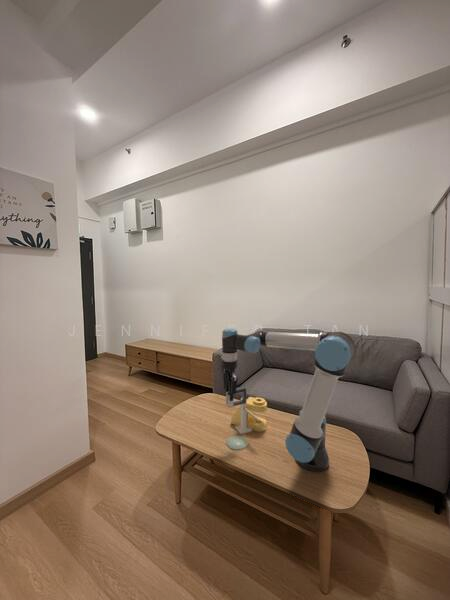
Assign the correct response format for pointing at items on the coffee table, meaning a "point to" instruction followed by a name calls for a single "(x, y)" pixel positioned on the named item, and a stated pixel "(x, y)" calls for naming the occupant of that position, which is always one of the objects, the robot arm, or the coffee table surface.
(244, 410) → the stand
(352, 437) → the coffee table surface
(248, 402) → the clamp
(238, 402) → the link
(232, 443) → the coaster
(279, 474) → the coffee table surface
